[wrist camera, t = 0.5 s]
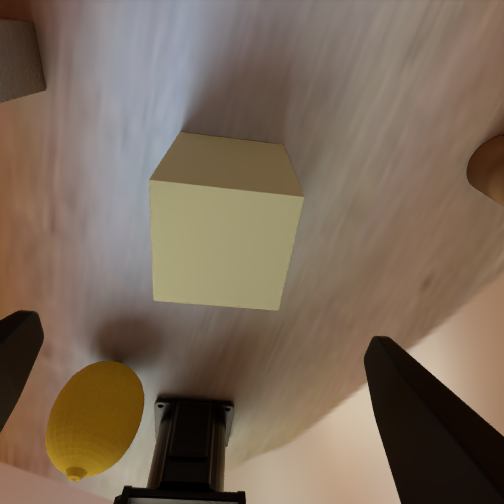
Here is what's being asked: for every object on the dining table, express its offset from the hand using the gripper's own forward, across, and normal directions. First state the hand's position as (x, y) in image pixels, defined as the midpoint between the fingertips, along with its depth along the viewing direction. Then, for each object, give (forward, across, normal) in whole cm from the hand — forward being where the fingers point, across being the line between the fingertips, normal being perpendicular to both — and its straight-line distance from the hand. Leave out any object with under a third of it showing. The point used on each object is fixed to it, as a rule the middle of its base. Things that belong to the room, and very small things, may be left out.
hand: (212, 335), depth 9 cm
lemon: (+11, +7, +15) cm, 20 cm away
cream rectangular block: (+11, 0, 0) cm, 11 cm away
